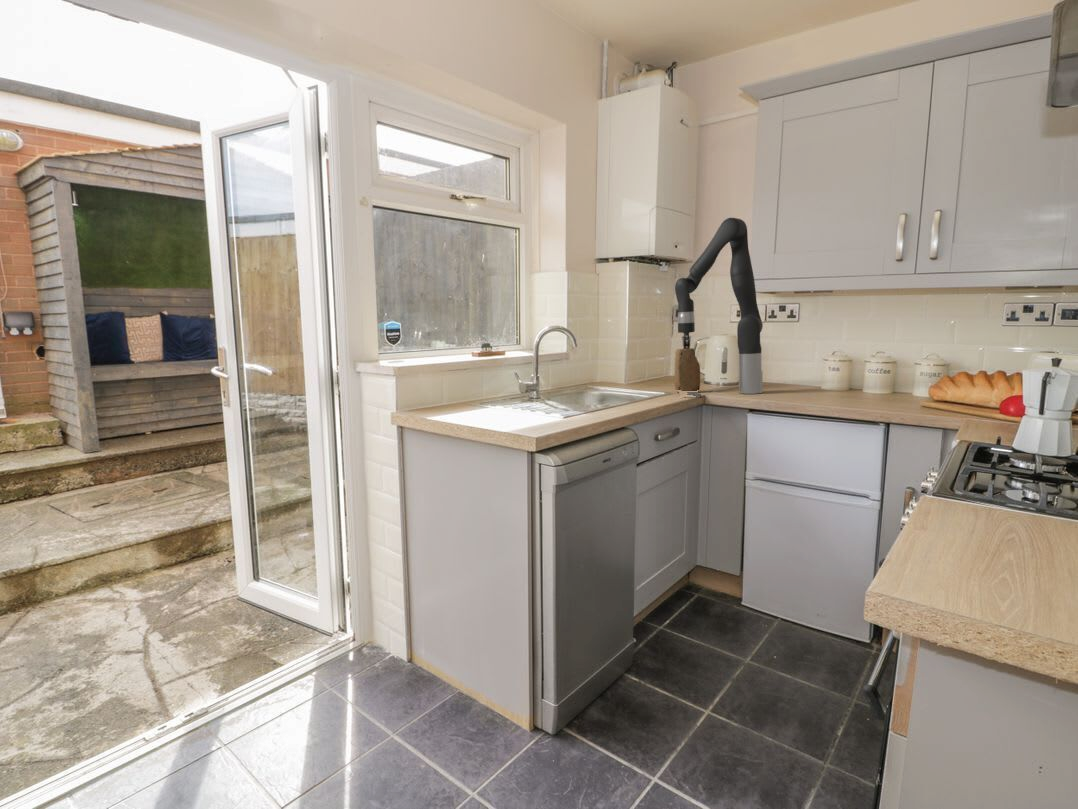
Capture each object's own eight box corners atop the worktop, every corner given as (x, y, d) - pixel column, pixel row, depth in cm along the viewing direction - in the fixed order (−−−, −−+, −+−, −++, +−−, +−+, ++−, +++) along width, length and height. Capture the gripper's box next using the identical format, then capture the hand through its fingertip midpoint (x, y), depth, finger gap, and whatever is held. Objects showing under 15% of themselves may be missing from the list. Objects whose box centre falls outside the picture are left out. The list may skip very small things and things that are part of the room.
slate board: (697, 394, 258) (697, 391, 258) (699, 397, 247) (699, 394, 246) (679, 394, 260) (679, 392, 260) (680, 397, 248) (680, 395, 248)
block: (677, 394, 263) (676, 349, 260) (673, 391, 271) (673, 348, 267) (701, 392, 263) (701, 348, 260) (697, 390, 270) (696, 347, 267)
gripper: (695, 321, 262) (695, 360, 264) (693, 321, 274) (694, 358, 277) (678, 322, 263) (678, 360, 265) (677, 322, 276) (677, 359, 278)
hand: (686, 359), depth 271 cm, fingers closed
